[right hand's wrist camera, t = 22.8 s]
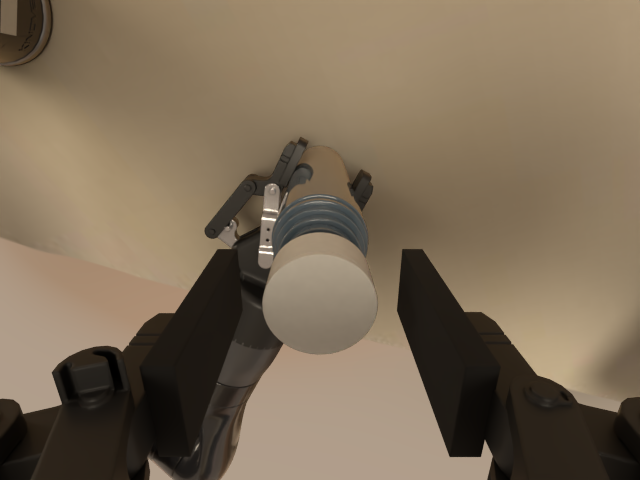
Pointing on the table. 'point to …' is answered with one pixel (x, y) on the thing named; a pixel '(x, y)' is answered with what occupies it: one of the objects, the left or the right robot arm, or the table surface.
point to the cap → (319, 294)
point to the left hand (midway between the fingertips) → (334, 157)
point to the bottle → (320, 202)
